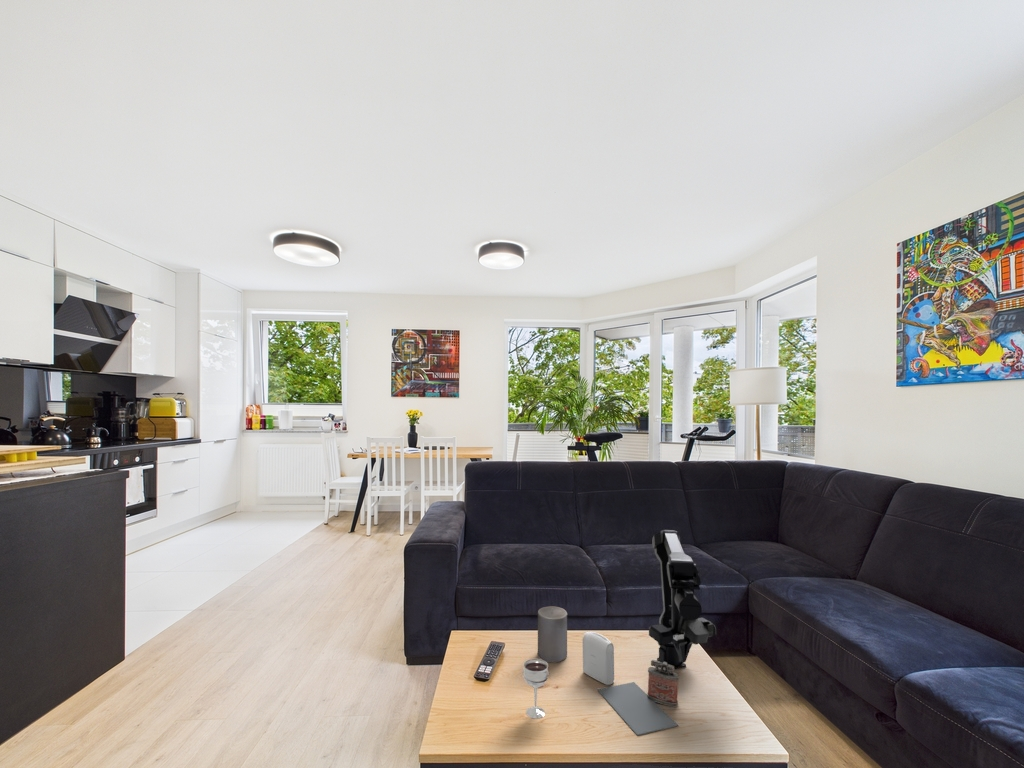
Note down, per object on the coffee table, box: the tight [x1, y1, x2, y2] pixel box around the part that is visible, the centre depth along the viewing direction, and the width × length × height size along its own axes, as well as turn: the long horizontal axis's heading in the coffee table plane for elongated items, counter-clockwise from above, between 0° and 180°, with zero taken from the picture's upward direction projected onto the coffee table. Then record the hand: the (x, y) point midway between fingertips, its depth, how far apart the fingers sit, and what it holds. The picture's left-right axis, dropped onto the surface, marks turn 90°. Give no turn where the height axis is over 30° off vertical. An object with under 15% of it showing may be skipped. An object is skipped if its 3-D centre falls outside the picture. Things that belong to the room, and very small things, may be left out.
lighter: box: [646, 659, 680, 708], centre depth 129 cm, size 8×3×10 cm, turn 65°
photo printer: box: [582, 631, 615, 686], centre depth 140 cm, size 10×4×12 cm, turn 39°
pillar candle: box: [537, 605, 568, 663], centre depth 153 cm, size 10×10×15 cm
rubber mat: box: [597, 681, 679, 737], centre depth 126 cm, size 12×20×1 cm, turn 18°
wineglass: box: [522, 658, 550, 719], centre depth 124 cm, size 7×7×12 cm
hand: (683, 661), depth 131 cm, fingers closed
